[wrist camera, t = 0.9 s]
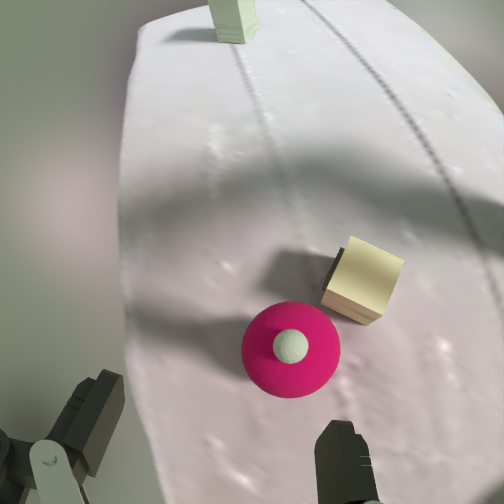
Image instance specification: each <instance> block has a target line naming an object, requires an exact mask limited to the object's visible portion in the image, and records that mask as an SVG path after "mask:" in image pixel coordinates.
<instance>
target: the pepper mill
mask: <svg viewBox="0 0 504 504" xmlns="http://www.w3.org/2000/svg"><path fill="white" fill-rule="evenodd" d="M241 353H242V360H243V364H244V367H245V370H246V372H247V373H248V375H249V377H250V379H251V380H252V381H253V382H254V383H255V384H256V385H257V386H258V387H259V388H260V389H262V390H263V391H265V392H267V393H268V394H271V395H274V396H276V397H282V398H298V397H303V396H306V395H309V394H311V393H313V392H315V391H317V390H318V389H320V388H321V387H322V386H323V385H325V384H326V383H327V382H328V380H329V379H330V378H331V376H332V375H333V373H334V371H335V370H336V368H337V365H338V362H339V357H340V341H339V336H338V333H337V331H336V328H335V326H334V325H333V323H332V322H331V320H330V319H329V318H328V317H327V316H326V315H325V314H324V313H323V312H322V311H320V310H319V309H317V308H315V307H313V306H311V305H308V304H305V303H301V302H282V303H277V304H275V305H272V306H270V307H268V308H266V309H265V310H263V311H262V312H260V313H259V314H258V315H257V316H256V317H255V318H254V319H253V320H252V322H251V323H250V325H249V326H248V328H247V329H246V332H245V334H244V337H243V341H242V352H241Z"/></svg>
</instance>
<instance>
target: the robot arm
mask: <svg viewBox="0 0 504 504" xmlns="http://www.w3.org/2000/svg"><path fill="white" fill-rule="evenodd" d="M124 402H125V396H124V384H123V376H122V375H119V374H117V373H114V372H111V371H108V370H106V369H104V370H102V371H101V373H100V374H99V376H98V378H97V380H94V379H91V378H89V377H88V378H87V379H86V380H84V381H82V382H81V383H80V384H78V385H77V387H76V389H75V390H74V392H73V394H72V397H70V399H69V401H68V402H67V405H66V406H65V407H64V409H63V411H62V412H61V414H60V416H59V417H58V419H57V421H56V423H55V425H54V426H53V428H52V430H51V432H50V433H49V435H48V436H47V437H46V438H45V439H43V440H41V441H38V442H33V443H31V442H25V441H20V440H16V439H12V438H8V436H7V435H6V434H5V432H4V431H2V430H1V429H0V504H25V502H26V499H27V496H28V493H29V491H30V488H32V489H36V490H38V493H39V497H40V500H41V503H42V504H91V503H90V501H89V498H88V496H87V493H86V490H85V488H84V485H83V482H84V480H85V477H86V475H89V476H91V477H94V478H95V475H96V473H97V470H98V468H99V465H100V463H101V461H102V458H103V455H104V453H105V451H106V448H107V446H108V444H109V441H110V439H111V436H112V434H113V432H114V429H115V427H116V425H117V423H118V420H119V418H120V415H121V413H122V411H123V407H124ZM314 453H315V465H316V478H317V491H318V504H383V503H382V502H380V501H379V498H378V494H377V489H376V484H375V479H374V474H373V469H372V467H371V459H370V458H369V456H370V455H369V450H368V445H367V443H366V442H365V440H364V439H363V437H362V436H361V434H355V431H354V426H353V423H352V422H351V421H341V420H332V421H331V422H330V423H329V424H328V426H327V427H326V428H325V430H324V431H323V433H322V434H321V435H320V436H319V438H318V439H317V441H316V444H315V450H314Z"/></svg>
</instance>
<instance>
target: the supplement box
mask: <svg viewBox="0 0 504 504" xmlns="http://www.w3.org/2000/svg"><path fill="white" fill-rule="evenodd" d="M207 1H208V4H209V8H210V12H211V15H212V19H213V23H214V27H215V30H216V34H217V38H218V41H219V42H230V43H242V44H246V43H247V42H248V41H249V40H250V39H251V38H252V37H254V36H255V35H256V34H257V33H258V32H259V27H258V21H257V15H256V9H255V3H254V0H207Z"/></svg>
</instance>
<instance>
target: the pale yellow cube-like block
mask: <svg viewBox="0 0 504 504" xmlns="http://www.w3.org/2000/svg"><path fill="white" fill-rule="evenodd" d="M403 262H404V260H402V259H400V258H398V257H396V256H393V255H391V254H389V253H387V252H385V251H383V250H381V249H379V248H377V247H375V246H373V245H371V244H368V243H366V242H364V241H362V240H360V239H358V238H356V237H353V236H351V237H350V239H349V241H348V244H347V246H346V248H345V249H344V248H340V250H339V252H338V254H337V256H336V258H335V261H334V263H333V265H332V267H331V269H330V271H329V273H328V275H327V277H326V280H325V283H324V286H323V289H322V290H325V293H324V296H323V298H322V301H321V303H320V304H322V305H324V306H326V307H328V308H330V309H332V310H334V311H336V312H338V313H340V314H342V315H345V316H347V317H349V318H351V319H353V320H355V321H357V322H359V323H361V324H363V325H365V326H367V325H369V324H370V323H372V322H373V321H375V320H377V319H378V318H380V317H381V316H383V314H384V312H385V309H386V307H387V304H388V302H389V299H390V297H391V294H392V292H393V289H394V287H395V284H396V281H397V279H398V276H399V273H400V270H401V268H402V265H403Z"/></svg>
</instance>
